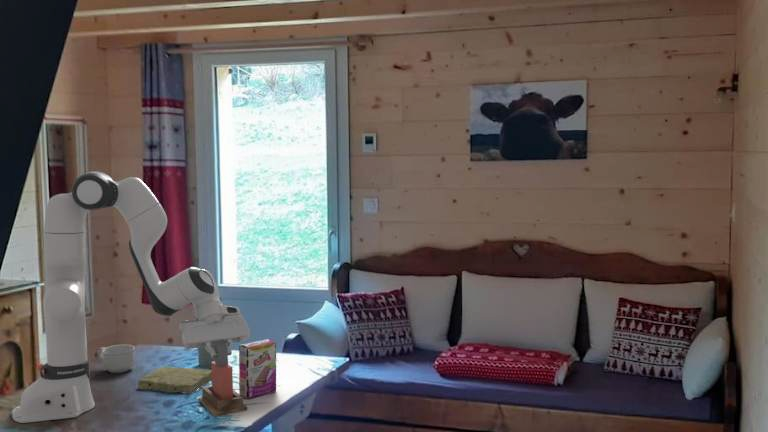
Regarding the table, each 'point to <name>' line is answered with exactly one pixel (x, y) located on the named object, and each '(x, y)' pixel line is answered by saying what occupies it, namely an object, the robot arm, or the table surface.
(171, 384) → the decorative tile
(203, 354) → the grey cup
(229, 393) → the pink and grey block
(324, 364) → the table surface
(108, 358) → the teacup
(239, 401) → the brown wooden tray
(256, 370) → the candy bar box
